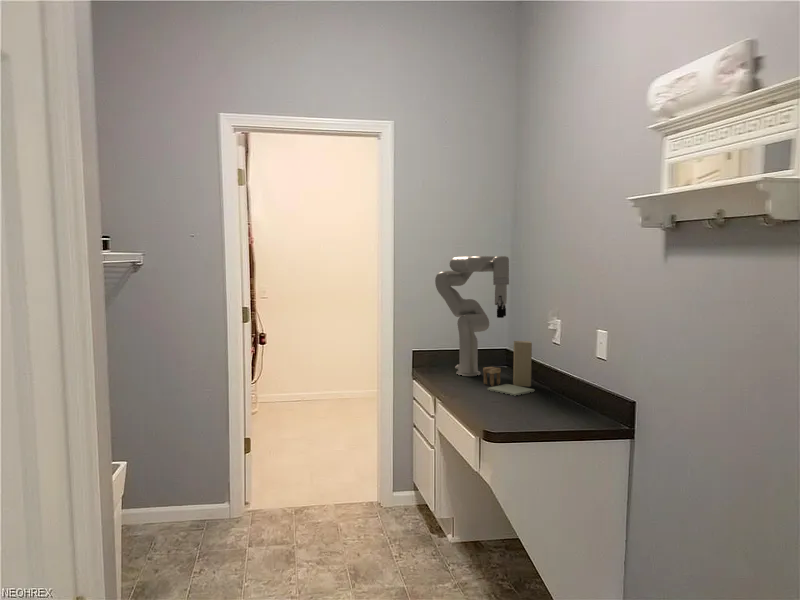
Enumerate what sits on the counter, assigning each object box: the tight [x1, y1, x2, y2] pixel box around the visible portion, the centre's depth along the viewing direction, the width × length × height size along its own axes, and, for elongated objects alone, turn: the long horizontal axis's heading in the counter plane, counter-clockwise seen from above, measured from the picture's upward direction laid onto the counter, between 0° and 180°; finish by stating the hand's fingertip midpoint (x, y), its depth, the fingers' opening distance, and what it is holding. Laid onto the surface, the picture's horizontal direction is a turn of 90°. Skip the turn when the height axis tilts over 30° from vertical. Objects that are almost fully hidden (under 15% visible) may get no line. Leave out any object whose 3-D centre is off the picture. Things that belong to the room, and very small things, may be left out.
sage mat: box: [487, 383, 535, 397], centre depth 267 cm, size 16×14×1 cm
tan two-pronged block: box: [482, 366, 502, 387], centre depth 281 cm, size 6×6×8 cm
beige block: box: [512, 340, 533, 388], centre depth 279 cm, size 8×7×21 cm
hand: (501, 316), depth 284 cm, fingers open, 9 cm apart
